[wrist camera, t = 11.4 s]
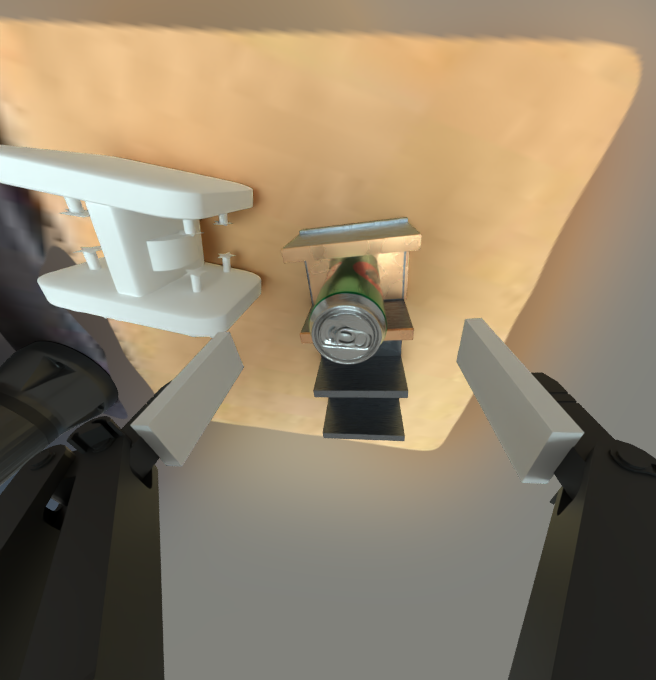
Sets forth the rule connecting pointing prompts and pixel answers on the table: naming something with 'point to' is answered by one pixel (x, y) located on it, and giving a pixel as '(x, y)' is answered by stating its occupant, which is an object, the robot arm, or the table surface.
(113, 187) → the cable organizer
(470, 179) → the table surface
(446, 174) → the table surface
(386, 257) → the can rack
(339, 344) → the soda can
